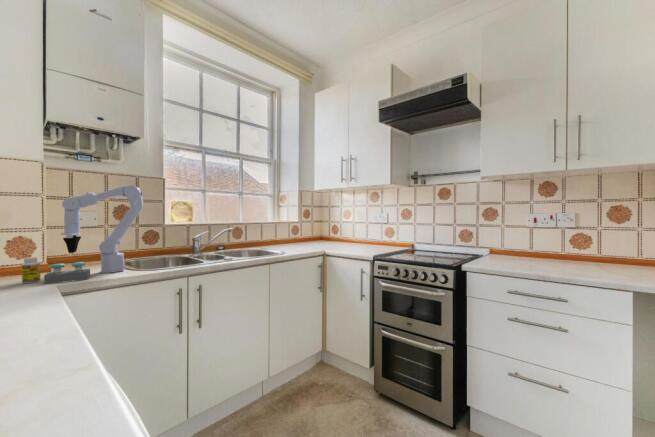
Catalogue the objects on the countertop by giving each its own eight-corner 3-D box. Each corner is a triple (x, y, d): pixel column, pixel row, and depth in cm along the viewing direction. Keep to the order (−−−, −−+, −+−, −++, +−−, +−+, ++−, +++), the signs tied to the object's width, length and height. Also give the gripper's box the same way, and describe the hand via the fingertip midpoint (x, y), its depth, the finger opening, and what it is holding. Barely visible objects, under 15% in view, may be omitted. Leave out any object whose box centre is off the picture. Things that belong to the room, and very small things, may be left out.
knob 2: (86, 271, 136) (85, 261, 136) (84, 273, 132) (84, 263, 132) (73, 272, 134) (72, 262, 134) (70, 274, 130) (70, 264, 130)
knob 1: (65, 273, 133) (65, 263, 133) (63, 275, 129) (63, 264, 129) (51, 274, 130) (51, 264, 130) (49, 276, 126) (48, 265, 126)
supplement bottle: (20, 284, 124) (19, 259, 123) (24, 281, 128) (23, 257, 128) (38, 282, 127) (38, 258, 126) (42, 280, 131) (41, 256, 131)
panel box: (90, 276, 138) (90, 268, 138) (87, 279, 132) (87, 271, 132) (49, 280, 131) (49, 272, 131) (44, 283, 124) (44, 275, 124)
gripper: (64, 223, 147) (64, 251, 147) (57, 224, 134) (57, 254, 135) (83, 222, 150) (83, 250, 151) (78, 224, 138) (78, 253, 138)
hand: (72, 252), depth 143 cm, fingers open, 3 cm apart
